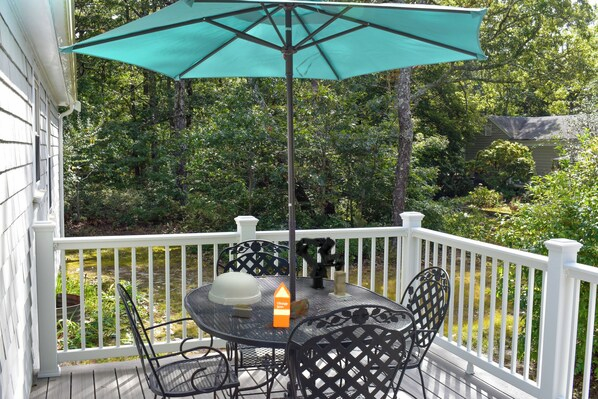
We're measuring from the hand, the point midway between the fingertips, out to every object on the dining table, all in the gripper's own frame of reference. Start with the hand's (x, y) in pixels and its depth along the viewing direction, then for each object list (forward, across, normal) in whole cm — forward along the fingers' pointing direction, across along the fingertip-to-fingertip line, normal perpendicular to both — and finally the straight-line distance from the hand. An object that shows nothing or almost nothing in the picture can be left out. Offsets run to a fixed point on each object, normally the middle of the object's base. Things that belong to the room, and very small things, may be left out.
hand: (334, 277), depth 332 cm
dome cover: (-3, -56, +18) cm, 59 cm away
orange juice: (+33, -52, -18) cm, 64 cm away
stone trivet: (+13, 0, +2) cm, 13 cm away
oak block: (+11, 0, 0) cm, 11 cm away
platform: (+21, -65, -5) cm, 68 cm away
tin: (+27, -38, -12) cm, 49 cm away
